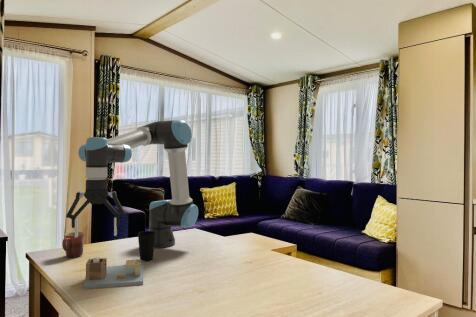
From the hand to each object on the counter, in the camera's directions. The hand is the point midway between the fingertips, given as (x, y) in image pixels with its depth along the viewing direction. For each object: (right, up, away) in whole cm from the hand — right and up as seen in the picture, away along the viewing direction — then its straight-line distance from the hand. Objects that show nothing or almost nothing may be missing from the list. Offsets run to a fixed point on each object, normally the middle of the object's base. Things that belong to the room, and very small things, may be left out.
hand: (96, 235), depth 133 cm
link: (-1, -15, +5) cm, 16 cm away
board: (+6, -17, +4) cm, 18 cm away
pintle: (0, -15, 0) cm, 15 cm away
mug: (-23, -16, +30) cm, 41 cm away
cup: (+12, -17, +28) cm, 34 cm away
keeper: (+11, -15, +3) cm, 19 cm away
